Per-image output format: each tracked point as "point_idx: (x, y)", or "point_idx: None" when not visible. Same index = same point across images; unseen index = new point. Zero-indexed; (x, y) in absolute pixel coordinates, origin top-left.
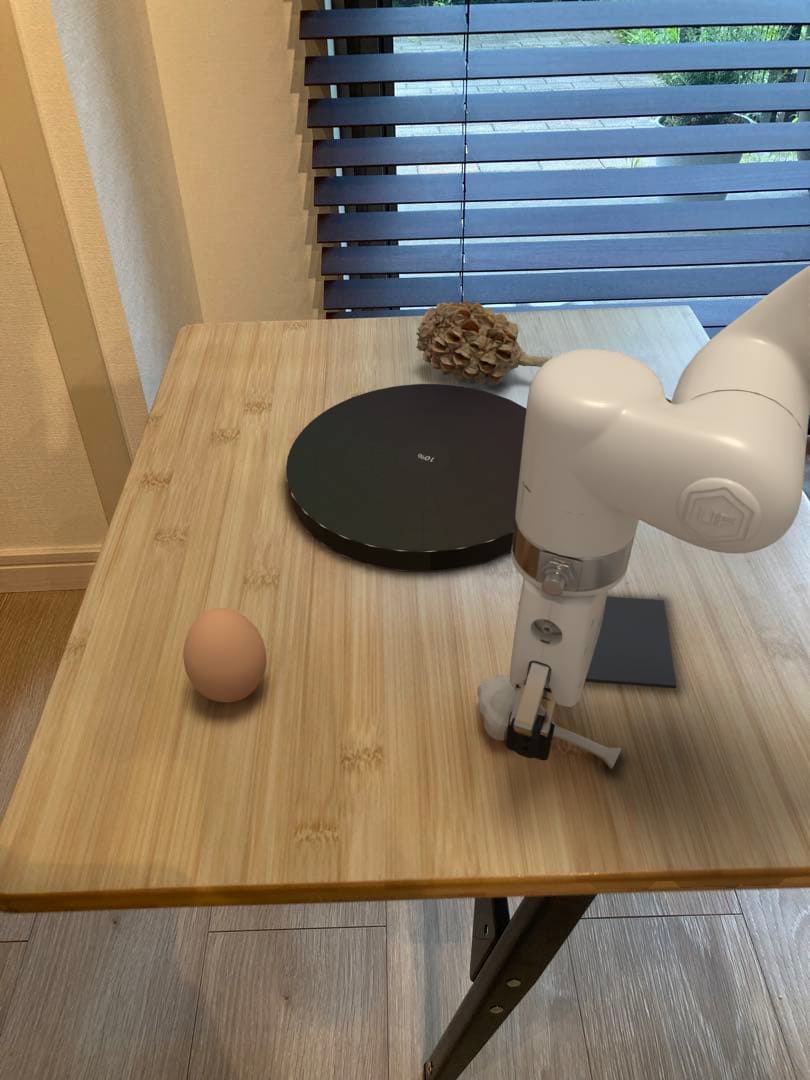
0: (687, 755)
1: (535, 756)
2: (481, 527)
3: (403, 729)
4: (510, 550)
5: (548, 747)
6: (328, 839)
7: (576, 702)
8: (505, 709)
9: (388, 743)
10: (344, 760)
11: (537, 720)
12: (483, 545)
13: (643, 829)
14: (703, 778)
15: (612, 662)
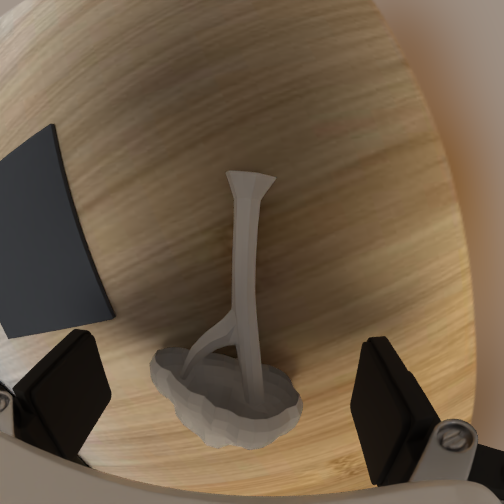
0: (176, 59)
1: (410, 372)
2: None
3: (299, 456)
4: (3, 389)
5: (402, 366)
6: None
7: (484, 493)
8: (279, 431)
9: (323, 459)
10: (354, 473)
11: (502, 496)
12: None
13: (363, 103)
14: (216, 27)
15: (48, 237)
